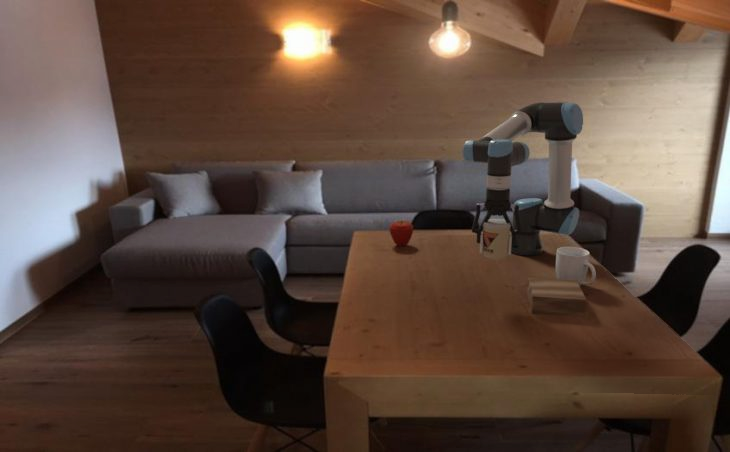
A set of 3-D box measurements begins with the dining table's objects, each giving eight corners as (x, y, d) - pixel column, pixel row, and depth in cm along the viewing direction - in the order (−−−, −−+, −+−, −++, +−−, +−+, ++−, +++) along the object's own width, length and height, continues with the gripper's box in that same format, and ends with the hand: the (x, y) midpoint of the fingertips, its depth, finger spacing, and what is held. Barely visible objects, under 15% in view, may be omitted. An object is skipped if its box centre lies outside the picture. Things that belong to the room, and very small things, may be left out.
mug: (602, 289, 179) (606, 255, 175) (583, 296, 173) (587, 261, 169) (565, 277, 191) (568, 244, 187) (547, 283, 185) (550, 250, 181)
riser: (526, 293, 176) (527, 277, 175) (574, 296, 173) (576, 280, 171) (531, 313, 161) (533, 296, 160) (584, 317, 158) (586, 299, 156)
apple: (390, 241, 238) (390, 217, 234) (413, 242, 236) (413, 217, 233) (388, 249, 227) (388, 223, 224) (412, 249, 226) (412, 224, 222)
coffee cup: (475, 253, 172) (476, 219, 169) (497, 249, 176) (499, 216, 172) (492, 261, 164) (493, 226, 161) (515, 257, 168) (517, 223, 164)
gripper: (464, 189, 162) (462, 255, 168) (533, 190, 158) (529, 257, 164) (465, 184, 169) (463, 247, 175) (531, 185, 165) (526, 250, 171)
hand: (495, 252), depth 170 cm, fingers closed on coffee cup, 9 cm apart
